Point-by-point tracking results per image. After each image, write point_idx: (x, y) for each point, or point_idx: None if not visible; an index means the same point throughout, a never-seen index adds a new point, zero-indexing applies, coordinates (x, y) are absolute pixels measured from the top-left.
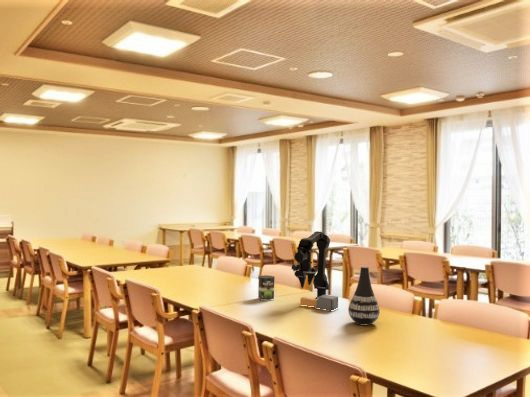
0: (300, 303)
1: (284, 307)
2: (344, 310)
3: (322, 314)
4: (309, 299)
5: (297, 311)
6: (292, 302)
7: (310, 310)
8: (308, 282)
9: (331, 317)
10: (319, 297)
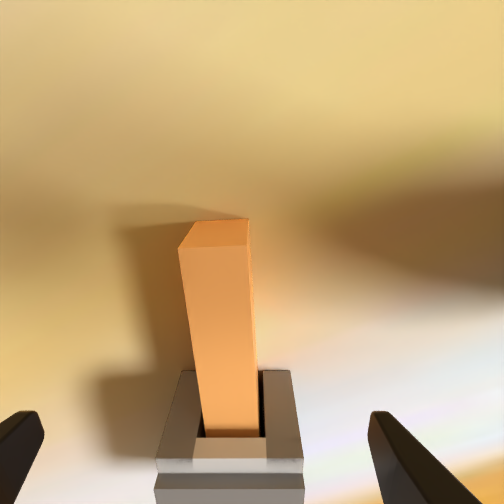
0: (191, 229)
1: (23, 116)
2: None
3: (85, 447)
4: (193, 350)
5: (9, 294)
6: (289, 60)
7: (117, 354)
8: (392, 464)
9: (67, 498)
10: (156, 492)
